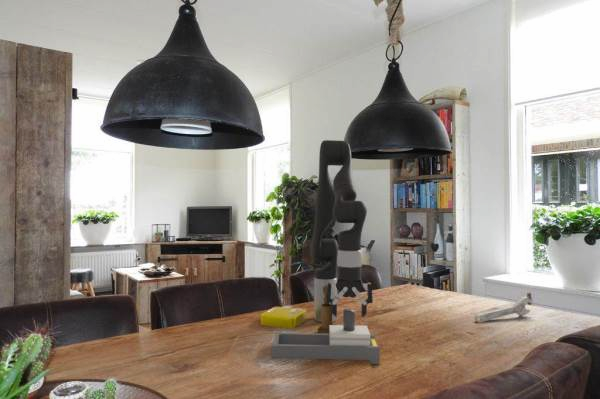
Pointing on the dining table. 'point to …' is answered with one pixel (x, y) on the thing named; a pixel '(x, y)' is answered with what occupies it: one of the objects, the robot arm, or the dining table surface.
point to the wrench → (506, 311)
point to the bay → (321, 348)
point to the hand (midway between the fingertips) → (349, 316)
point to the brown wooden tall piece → (325, 315)
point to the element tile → (283, 317)
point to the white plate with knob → (349, 332)
